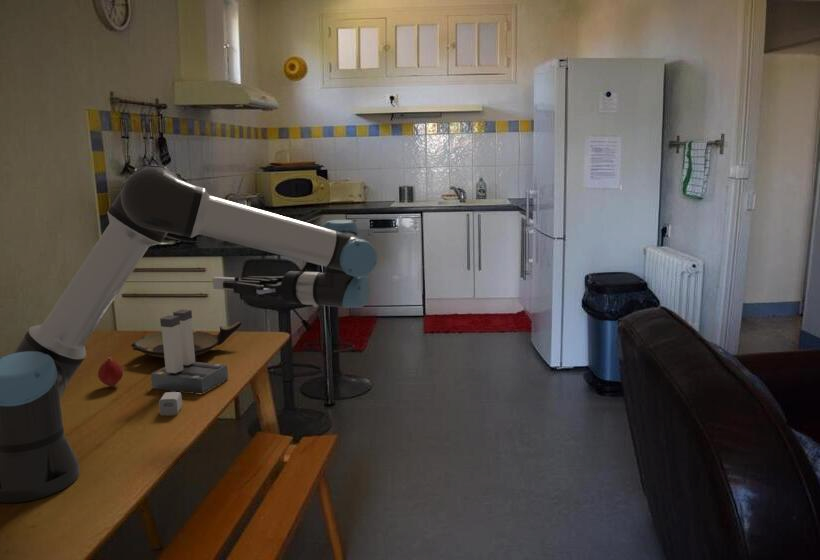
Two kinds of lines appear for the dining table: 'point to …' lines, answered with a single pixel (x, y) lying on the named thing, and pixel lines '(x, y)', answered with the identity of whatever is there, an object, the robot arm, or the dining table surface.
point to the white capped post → (186, 336)
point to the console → (190, 377)
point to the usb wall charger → (170, 403)
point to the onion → (110, 372)
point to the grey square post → (172, 343)
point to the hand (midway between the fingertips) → (215, 282)
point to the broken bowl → (201, 340)
